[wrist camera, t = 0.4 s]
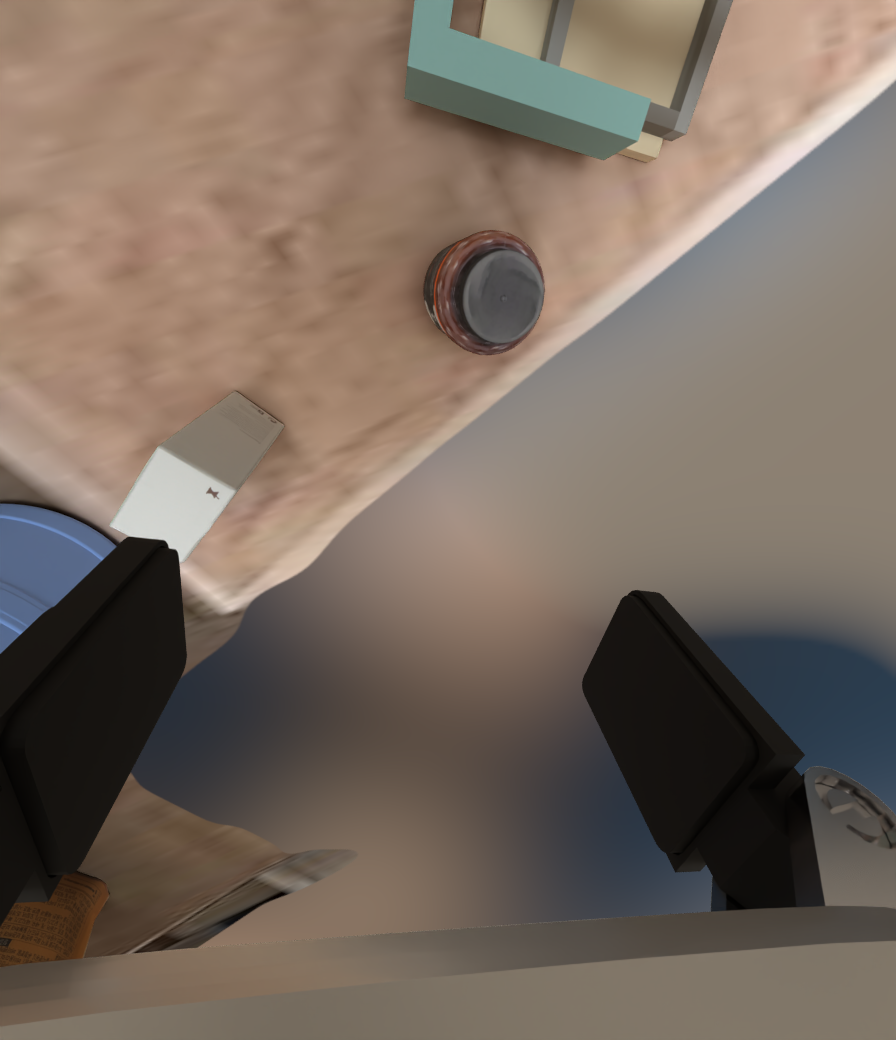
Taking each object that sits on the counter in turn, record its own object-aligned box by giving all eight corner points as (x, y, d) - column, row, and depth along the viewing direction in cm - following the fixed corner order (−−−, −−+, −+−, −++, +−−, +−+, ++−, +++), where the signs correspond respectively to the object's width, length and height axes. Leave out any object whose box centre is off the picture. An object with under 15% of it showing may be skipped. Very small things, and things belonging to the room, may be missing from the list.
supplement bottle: (422, 338, 31) (438, 365, 21) (421, 240, 28) (439, 220, 19) (503, 338, 32) (555, 364, 22) (510, 242, 29) (573, 224, 19)
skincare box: (234, 387, 31) (158, 441, 21) (286, 424, 33) (240, 491, 23) (193, 449, 33) (104, 527, 23) (244, 481, 35) (183, 567, 24)
